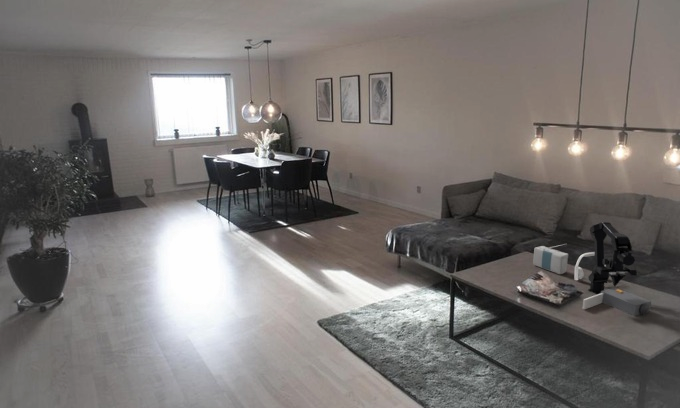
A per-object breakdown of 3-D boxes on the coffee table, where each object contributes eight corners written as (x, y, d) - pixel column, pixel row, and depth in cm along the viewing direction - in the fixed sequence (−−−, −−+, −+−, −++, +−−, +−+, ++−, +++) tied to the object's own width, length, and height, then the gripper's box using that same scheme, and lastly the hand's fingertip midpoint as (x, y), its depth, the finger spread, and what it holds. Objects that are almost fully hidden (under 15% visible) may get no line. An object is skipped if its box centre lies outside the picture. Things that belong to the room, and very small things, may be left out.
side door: (600, 301, 257) (601, 292, 256) (603, 302, 256) (604, 293, 255) (580, 308, 249) (581, 298, 248) (584, 309, 248) (585, 300, 246)
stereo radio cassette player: (532, 265, 314) (534, 237, 309) (540, 263, 318) (543, 235, 313) (559, 275, 296) (562, 246, 291) (567, 273, 300) (570, 243, 295)
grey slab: (599, 301, 258) (601, 289, 257) (614, 297, 263) (616, 286, 261) (636, 317, 239) (638, 304, 238) (652, 312, 244) (653, 300, 242)
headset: (578, 282, 284) (581, 255, 280) (570, 278, 291) (573, 251, 287) (606, 280, 288) (610, 252, 284) (598, 275, 294) (601, 249, 290)
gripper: (628, 253, 253) (624, 279, 257) (593, 253, 255) (590, 279, 259) (639, 260, 243) (635, 288, 246) (602, 260, 244) (599, 287, 248)
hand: (614, 285), depth 250 cm, fingers closed
